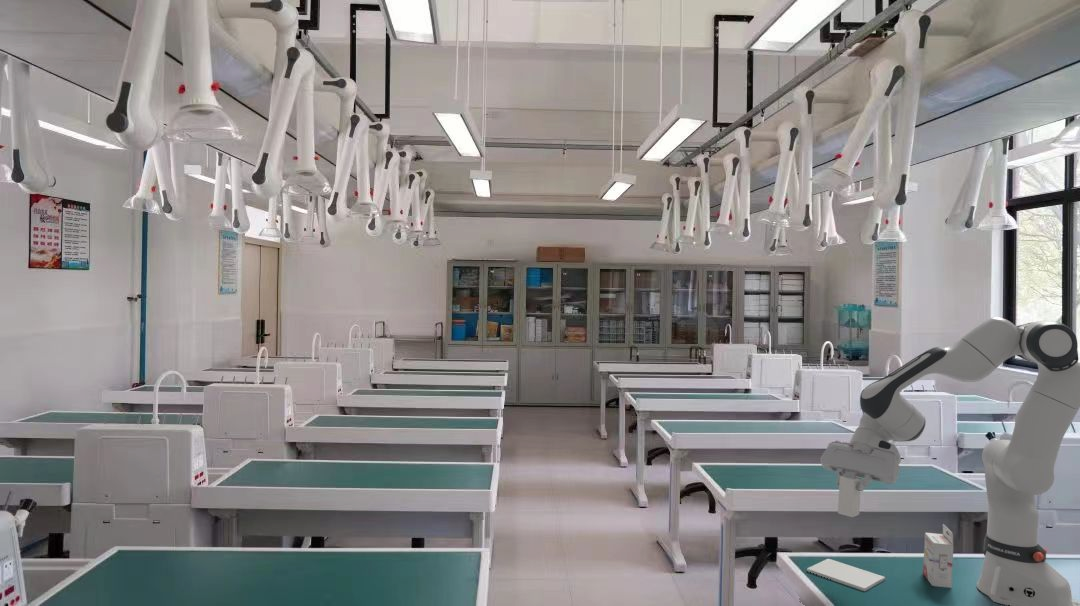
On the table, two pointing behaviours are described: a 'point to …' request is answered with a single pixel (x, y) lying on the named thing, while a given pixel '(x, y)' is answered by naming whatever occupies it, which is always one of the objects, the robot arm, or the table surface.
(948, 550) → the ink cartridge box
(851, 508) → the white tall rectangular block
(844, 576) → the white spiral notebook
